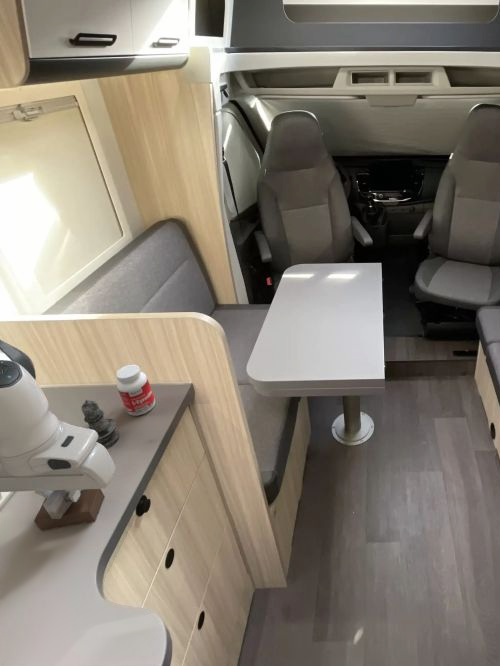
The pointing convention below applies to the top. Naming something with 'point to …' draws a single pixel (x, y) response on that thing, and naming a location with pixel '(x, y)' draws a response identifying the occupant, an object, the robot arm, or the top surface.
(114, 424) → the dark chess piece
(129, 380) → the pill bottle
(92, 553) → the top surface
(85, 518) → the brown block
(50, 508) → the grey rectangular block
